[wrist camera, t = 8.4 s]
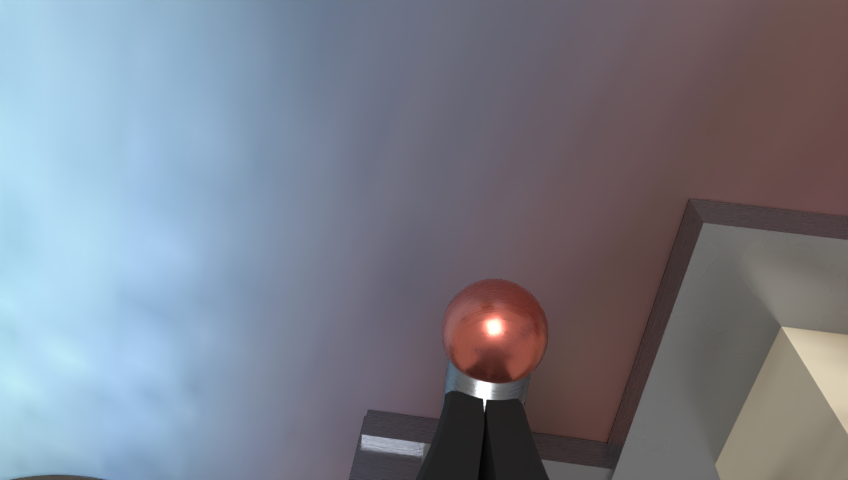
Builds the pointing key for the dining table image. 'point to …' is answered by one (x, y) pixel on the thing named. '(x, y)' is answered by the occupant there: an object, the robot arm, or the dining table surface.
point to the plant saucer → (57, 478)
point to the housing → (794, 413)
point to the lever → (493, 340)
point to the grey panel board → (681, 349)
